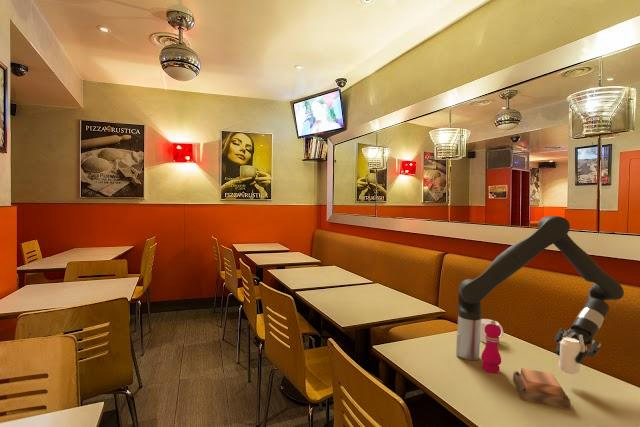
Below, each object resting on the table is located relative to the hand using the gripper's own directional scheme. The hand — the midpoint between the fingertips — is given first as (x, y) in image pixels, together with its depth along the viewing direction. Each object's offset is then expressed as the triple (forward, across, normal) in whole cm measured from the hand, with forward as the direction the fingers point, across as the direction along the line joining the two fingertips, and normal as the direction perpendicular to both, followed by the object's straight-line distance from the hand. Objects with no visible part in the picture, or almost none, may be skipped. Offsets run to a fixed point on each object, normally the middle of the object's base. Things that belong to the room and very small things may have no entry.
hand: (567, 357), depth 127 cm
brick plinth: (+18, 0, -2) cm, 18 cm away
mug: (0, -41, +16) cm, 44 cm away
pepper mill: (+19, -20, -3) cm, 27 cm away
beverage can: (+3, 0, +5) cm, 6 cm away
